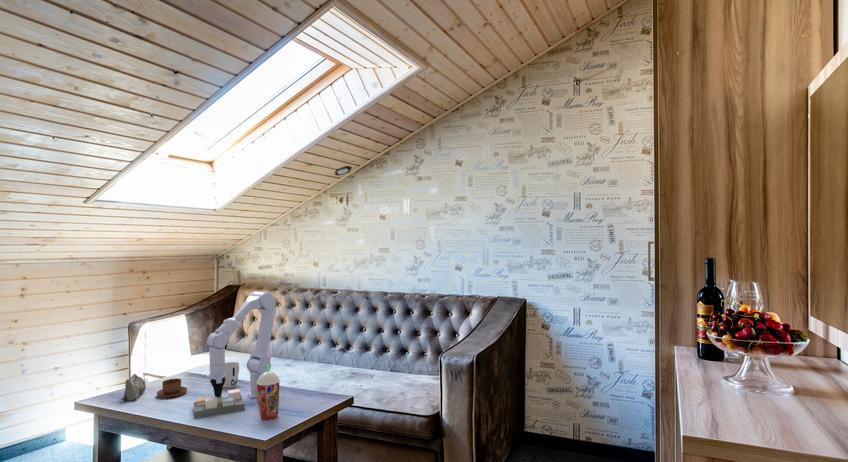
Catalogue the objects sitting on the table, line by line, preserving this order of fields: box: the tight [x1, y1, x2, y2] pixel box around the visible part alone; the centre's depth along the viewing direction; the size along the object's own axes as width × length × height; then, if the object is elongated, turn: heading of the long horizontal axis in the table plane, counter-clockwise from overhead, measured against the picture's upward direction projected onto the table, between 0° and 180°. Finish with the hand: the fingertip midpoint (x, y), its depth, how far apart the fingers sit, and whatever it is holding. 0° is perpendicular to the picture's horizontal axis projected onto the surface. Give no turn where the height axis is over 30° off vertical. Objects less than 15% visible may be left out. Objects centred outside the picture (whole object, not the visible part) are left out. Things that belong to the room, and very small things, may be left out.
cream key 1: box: [205, 396, 217, 410], centre depth 198 cm, size 4×4×4 cm
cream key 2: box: [227, 388, 241, 400], centre depth 207 cm, size 4×4×4 cm
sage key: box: [211, 394, 225, 403], centre depth 204 cm, size 4×4×4 cm
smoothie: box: [257, 364, 281, 421], centre depth 191 cm, size 8×8×20 cm
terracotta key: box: [195, 396, 209, 406], centre depth 202 cm, size 4×4×4 cm
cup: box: [223, 361, 240, 389], centre depth 232 cm, size 8×8×10 cm
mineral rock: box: [123, 373, 147, 401], centre depth 221 cm, size 13×11×10 cm
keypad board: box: [193, 394, 246, 419], centre depth 202 cm, size 18×12×2 cm
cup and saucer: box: [156, 378, 188, 398], centre depth 222 cm, size 12×12×6 cm
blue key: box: [221, 397, 234, 407], centre depth 200 cm, size 4×4×4 cm
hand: (218, 396), depth 204 cm, fingers closed, pressing on sage key
